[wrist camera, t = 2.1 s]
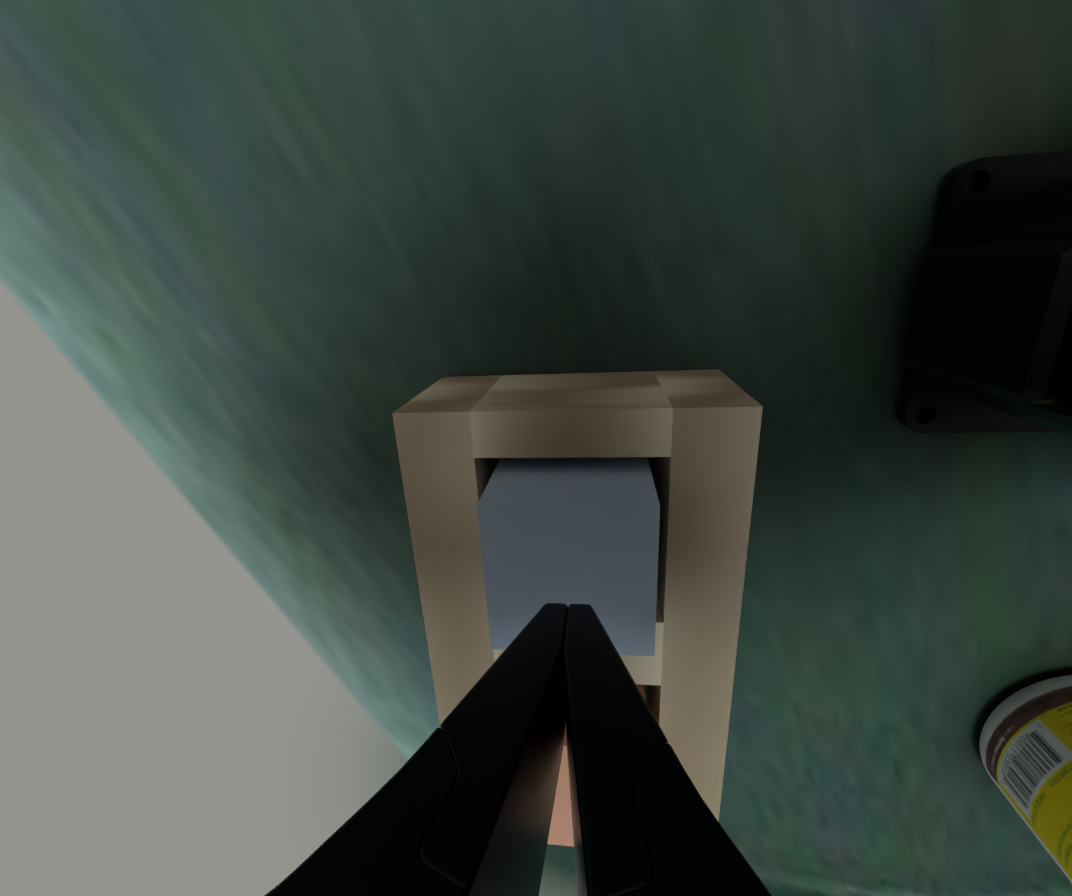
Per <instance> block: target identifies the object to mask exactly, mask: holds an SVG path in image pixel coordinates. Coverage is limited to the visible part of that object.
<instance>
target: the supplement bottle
mask: <svg viewBox="0 0 1072 896" xmlns="http://www.w3.org/2000/svg"><path fill="white" fill-rule="evenodd" d="M979 748H980V755H981V759H982V762H983V765H984V767H985V769H986V771H987V773H988V774H989V776H990V777H991V779H992V780H993V781H994V783H995V784H996V785H997V787H998V788H999V789H1000V791H1001V792H1002V793H1003V795H1004V796H1005V797H1006V798H1007V800H1008V801H1009V802H1010V804H1011V805H1012V806H1013V807H1014V809H1015V810H1016V811H1017V813H1018V814H1019V815H1020V817H1021V818H1022V819H1023V820H1024V822H1025V823H1026V824H1027V826H1028V827H1029V828H1030V830H1031V831H1032V832H1033V833H1034V835H1035V836H1036V837H1037V839H1038V840H1039V841H1040V843H1041V844H1042V845H1043V846H1044V848H1045V849H1046V850H1047V852H1048V853H1049V854H1050V856H1051V857H1052V858H1053V859H1054V861H1055V862H1056V863H1057V865H1058V866H1059V867H1060V869H1061V870H1062V871H1063V872H1064V874H1065V875H1066V876H1067V878H1068V879H1069V880H1070V881H1071V883H1072V675H1066V676H1060V677H1054V678H1050V679H1046V680H1043V681H1040V682H1037V683H1034V684H1032V685H1029V686H1027V687H1025V688H1023V689H1021V690H1019V691H1017V692H1015V693H1014V694H1012V695H1011V696H1009V697H1008V698H1007V699H1005V700H1004V701H1003V702H1002V703H1000V704H999V705H998V706H997V707H996V708H995V709H994V711H993V712H992V713H991V714H990V716H989V717H988V719H987V720H986V722H985V724H984V726H983V729H982V732H981V736H980V744H979Z"/></svg>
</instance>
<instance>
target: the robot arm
mask: <svg viewBox="0 0 1072 896" xmlns="http://www.w3.org/2000/svg"><path fill="white" fill-rule="evenodd" d="M971 174H974V175H975V176H976V177H977V178H978V185H977V187H976V189H975V191H974V192H973V193H972V194H969V193H968V192H967V191H966V190H965V183H966V181H967V178H968V177H969V176H970V175H971ZM903 359H904V360H905V361H906V362H907V364H906V369H905V374H904V379H903V384H902V389H901V394H900V399H899V404H898V409H897V418H898V420H899V422H900V424H902V425H903V426H905V427H907V428H909V429H910V430H912V431H914V432H920V433H958V432H1050V431H1058V432H1061V433H1064V434H1067V435H1069V436H1072V151H1064V152H1050V153H1037V154H1023V155H1010V156H997V157H983V158H980V159H976V160H972V161H969V162H965V163H962V164H960V165H958V166H957V167H955V168H954V169H953V170H952V171H951V172H950V173H949V174H948V176H947V177H946V179H945V181H944V184H943V186H942V191H941V196H940V201H939V206H938V211H937V216H936V221H935V225H934V230H933V235H932V240H931V245H930V250H929V253H928V254H927V255H926V256H925V257H924V258H923V259H922V261H921V266H920V271H919V276H918V281H917V286H916V291H915V296H914V301H913V306H912V311H911V317H910V322H909V327H908V332H907V337H906V342H905V347H904V352H903ZM924 406H927V412H926V414H925V416H923V417H922V418H921V419H917V420H916V417H915V415H916V413H917V411H918V410H919V409H920V408H922V407H924ZM565 729H566V739H567V757H568V770H569V784H570V798H571V812H572V826H573V840H574V853H575V867H576V881H577V895H578V896H772V895H771V894H770V893H769V891H768V890H767V888H766V887H765V886H764V884H763V883H762V881H761V880H760V879H759V877H758V876H757V875H756V873H755V872H754V870H753V869H752V868H751V866H750V865H749V864H748V862H747V861H746V859H745V858H744V857H743V855H742V854H741V853H740V851H739V850H738V848H737V847H736V846H735V844H734V843H733V842H732V840H731V839H730V837H729V836H728V835H727V833H726V832H725V830H724V829H723V828H722V826H721V825H720V823H719V822H718V820H717V819H716V817H715V816H714V815H713V813H712V812H711V810H710V809H709V807H708V806H707V804H706V803H705V802H704V800H703V799H702V797H701V796H700V794H699V792H698V791H697V789H696V787H695V786H694V784H693V782H692V781H691V779H690V777H689V776H688V774H687V773H686V771H685V769H684V768H683V766H682V764H681V762H680V761H679V759H678V757H677V755H676V754H675V752H674V750H673V748H672V747H671V745H670V744H668V740H667V738H666V736H665V735H664V733H663V731H662V729H661V728H660V726H659V724H658V722H657V721H656V719H655V717H654V715H653V713H652V712H651V710H650V708H649V706H648V705H647V703H646V701H645V699H644V698H643V696H642V694H641V692H640V690H639V689H638V687H637V685H636V683H635V682H634V680H633V678H632V676H631V674H630V673H629V671H628V669H627V667H626V666H625V664H624V662H623V660H622V659H621V657H620V655H619V653H618V651H617V650H616V648H615V646H614V644H613V643H612V641H611V639H610V637H609V636H608V634H607V632H606V630H605V628H604V627H603V625H602V623H601V621H600V620H599V618H598V616H597V614H596V613H595V611H594V609H593V607H592V606H591V605H590V604H570V605H569V606H567V604H565V603H546V604H544V605H543V606H542V608H541V609H540V610H539V611H538V612H537V613H536V615H535V616H534V617H533V618H532V619H531V620H530V622H529V623H528V624H527V625H526V626H525V627H524V628H523V630H522V631H521V632H520V633H519V634H518V635H517V637H516V638H515V639H514V640H513V641H512V642H511V643H510V645H509V646H508V647H507V648H506V649H505V650H504V652H503V653H502V654H501V655H500V656H499V657H498V659H497V660H496V661H495V662H494V663H493V664H492V665H491V667H490V668H489V669H488V670H487V671H486V672H485V674H484V675H483V676H482V677H481V678H480V679H479V680H478V682H477V683H476V684H475V685H474V686H473V687H472V689H471V690H470V691H469V692H468V693H467V694H466V696H465V697H464V698H463V699H462V700H461V701H460V702H459V704H458V705H457V706H456V707H455V708H454V709H453V711H452V712H451V713H450V714H449V715H448V716H447V717H446V719H445V720H444V721H443V722H442V723H441V725H440V728H437V729H436V730H435V731H434V732H433V733H432V735H431V736H430V737H429V738H428V739H427V740H426V741H425V743H424V744H423V745H422V746H421V747H420V748H419V749H418V750H417V751H416V753H415V754H414V755H413V756H412V757H411V758H410V759H409V760H408V761H407V762H406V763H405V765H404V766H403V767H402V768H401V769H400V770H399V771H398V772H397V773H396V774H395V775H394V776H393V777H392V778H391V779H390V780H389V781H388V782H387V783H386V784H385V785H384V786H383V787H382V788H381V789H380V790H379V791H378V792H377V793H376V794H375V795H374V796H373V797H372V798H371V799H370V800H369V801H368V802H367V803H366V804H364V806H362V807H361V808H360V809H359V810H358V811H357V812H356V813H355V814H354V815H353V816H352V817H351V818H350V819H349V820H348V821H346V822H345V823H344V824H343V825H342V826H341V827H340V828H339V829H338V830H337V831H336V832H335V833H334V834H333V835H332V836H331V837H329V838H328V839H327V840H326V841H325V842H324V843H323V844H322V845H321V846H320V847H319V848H318V849H317V850H316V851H315V852H314V853H313V854H312V855H310V856H309V858H307V859H306V860H305V861H304V862H303V863H302V864H301V865H300V866H299V867H298V868H297V869H296V870H295V871H293V872H292V873H291V874H290V875H289V876H288V877H287V878H286V879H284V880H283V881H282V882H281V883H280V884H279V885H277V886H276V887H275V888H274V889H272V890H271V891H270V892H268V893H267V894H266V895H265V896H539V890H540V884H541V878H542V872H543V866H544V860H545V854H546V848H547V842H548V836H549V830H550V824H551V818H552V812H553V806H554V800H555V794H556V788H557V782H558V776H559V770H560V764H561V758H562V752H563V746H564V739H565Z"/></svg>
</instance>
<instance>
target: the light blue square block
mask: <svg viewBox="0 0 1072 896" xmlns="http://www.w3.org/2000/svg"><path fill="white" fill-rule="evenodd" d="M477 513H478V523H479V533H480V543H481V552H482V562H483V572H484V582H485V592H486V602H487V612H488V622H489V632H490V642H491V649H499V650H505V649H506V648H507V647H508V646H509V645H510V643H511V642H512V641H513V640H514V639H515V638H516V637H517V635H518V634H519V633H520V632H521V631H522V630H523V628H524V627H525V626H526V625H527V624H528V623H529V622H530V620H531V619H532V618H533V617H534V616H535V615H536V613H537V612H538V611H539V610H540V609H541V608H542V606H543V605H544V604H546V603H565V604H567V606H569V605H570V604H590V605H591V606H592V607H593V609H594V611H595V613H596V614H597V616H598V618H599V620H600V621H601V623H602V625H603V627H604V628H605V630H606V632H607V634H608V636H609V637H610V639H611V641H612V643H613V644H614V646H615V648H616V650H617V651H618V653H619V655H634V656H655V631H656V604H657V577H658V550H659V524H660V504H659V500H658V496H657V492H656V489H655V485H654V481H653V477H652V473H651V469H650V466H649V462H648V458H647V457H575V458H501V459H500V460H499V462H498V464H497V466H496V468H495V470H494V472H493V474H492V476H491V478H490V480H489V482H488V484H487V486H486V488H485V490H484V492H483V494H482V496H481V498H480V500H479V502H478V504H477Z"/></svg>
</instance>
